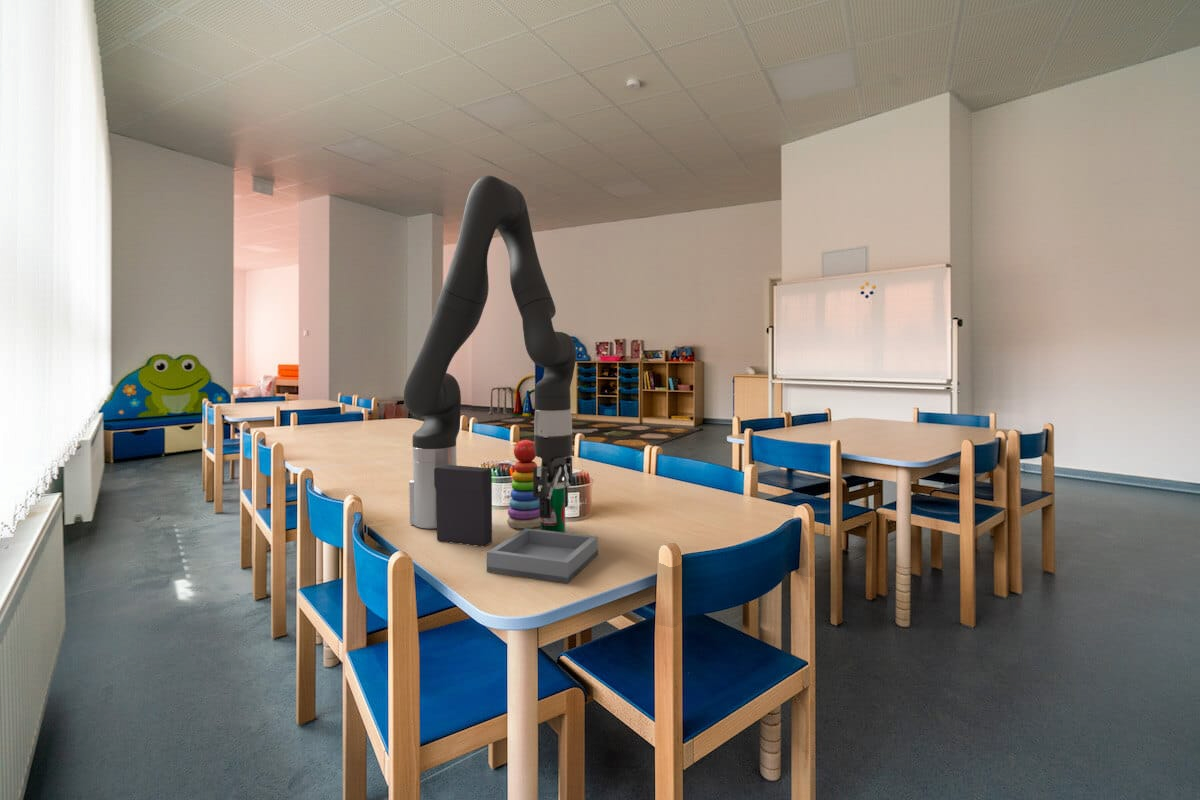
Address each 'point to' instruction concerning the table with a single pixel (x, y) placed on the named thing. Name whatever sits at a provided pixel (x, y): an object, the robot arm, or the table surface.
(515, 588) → the table surface
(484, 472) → the black upright block
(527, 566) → the tray
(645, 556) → the table surface
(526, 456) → the stacking toy
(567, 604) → the table surface
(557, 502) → the soda can
